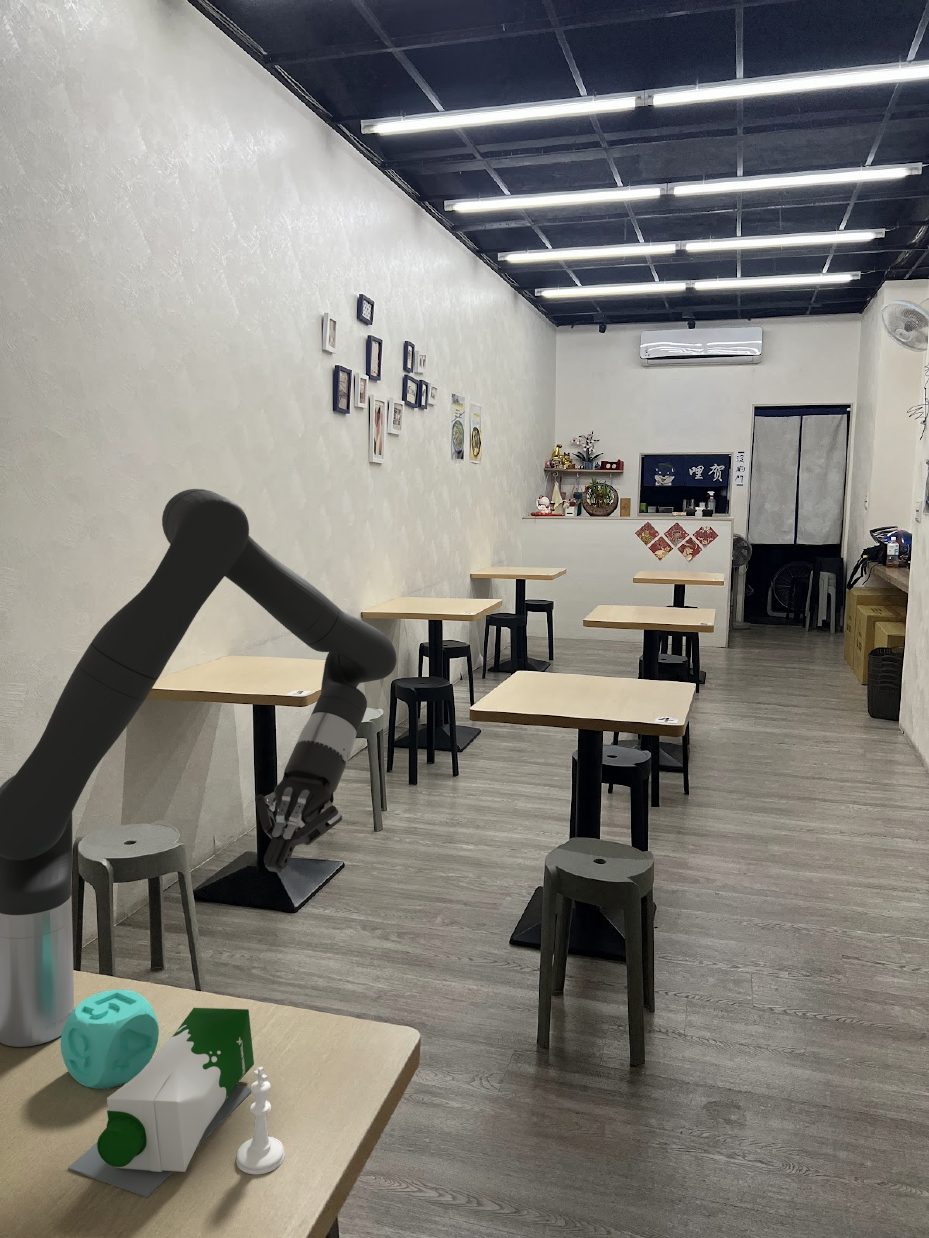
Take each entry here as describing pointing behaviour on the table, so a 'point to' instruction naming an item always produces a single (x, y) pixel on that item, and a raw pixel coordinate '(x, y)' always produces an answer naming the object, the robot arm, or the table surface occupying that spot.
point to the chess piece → (260, 1134)
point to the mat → (146, 1179)
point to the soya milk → (178, 1092)
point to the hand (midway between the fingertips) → (272, 869)
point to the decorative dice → (109, 1038)
